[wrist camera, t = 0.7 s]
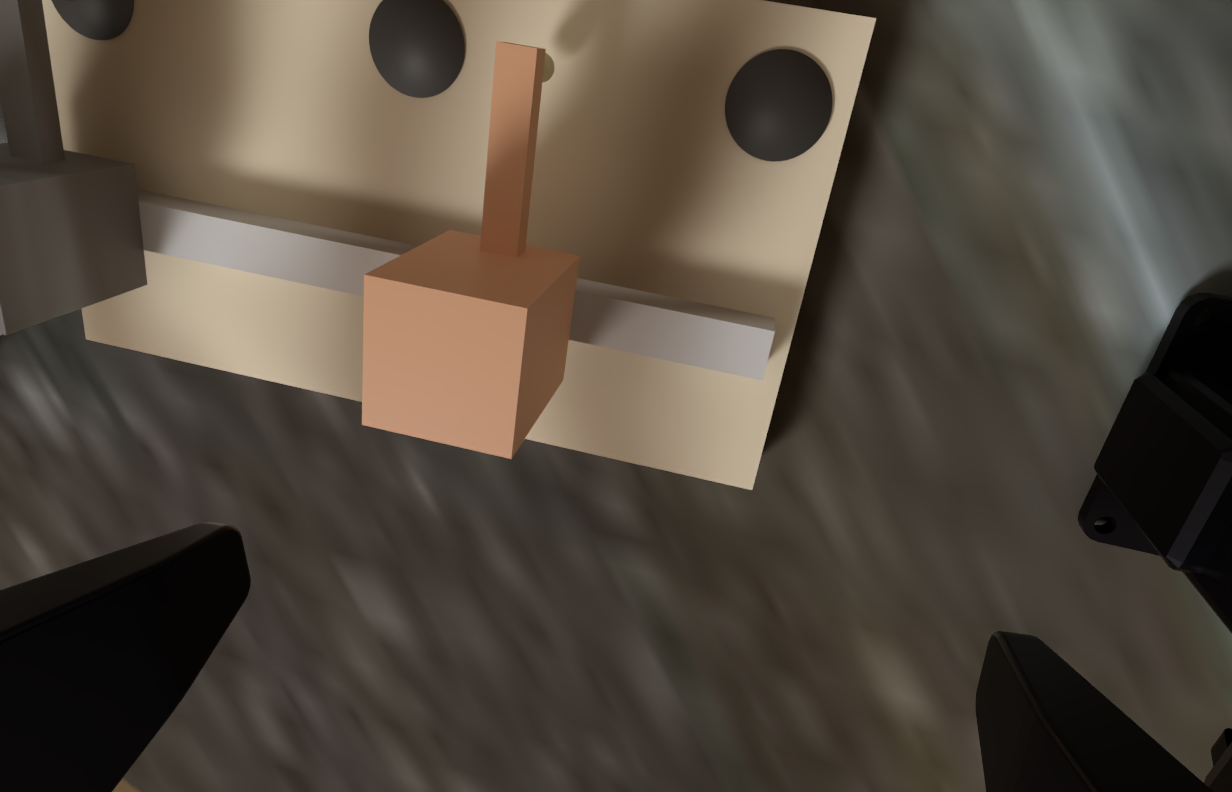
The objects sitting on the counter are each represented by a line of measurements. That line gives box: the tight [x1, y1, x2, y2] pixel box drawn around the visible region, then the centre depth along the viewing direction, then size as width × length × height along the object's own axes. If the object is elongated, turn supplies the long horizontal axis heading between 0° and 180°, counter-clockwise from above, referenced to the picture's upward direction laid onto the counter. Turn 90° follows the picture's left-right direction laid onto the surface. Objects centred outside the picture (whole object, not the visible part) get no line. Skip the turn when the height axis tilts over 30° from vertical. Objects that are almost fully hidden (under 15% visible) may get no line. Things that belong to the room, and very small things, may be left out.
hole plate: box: [0, 0, 876, 490], centre depth 17 cm, size 19×11×6 cm, turn 82°
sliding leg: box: [362, 41, 580, 459], centre depth 15 cm, size 3×7×5 cm, turn 172°
